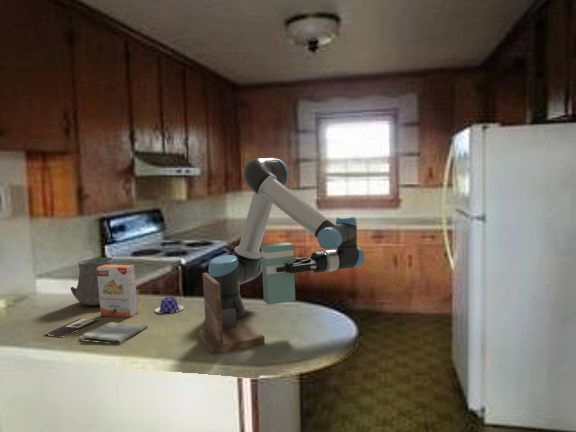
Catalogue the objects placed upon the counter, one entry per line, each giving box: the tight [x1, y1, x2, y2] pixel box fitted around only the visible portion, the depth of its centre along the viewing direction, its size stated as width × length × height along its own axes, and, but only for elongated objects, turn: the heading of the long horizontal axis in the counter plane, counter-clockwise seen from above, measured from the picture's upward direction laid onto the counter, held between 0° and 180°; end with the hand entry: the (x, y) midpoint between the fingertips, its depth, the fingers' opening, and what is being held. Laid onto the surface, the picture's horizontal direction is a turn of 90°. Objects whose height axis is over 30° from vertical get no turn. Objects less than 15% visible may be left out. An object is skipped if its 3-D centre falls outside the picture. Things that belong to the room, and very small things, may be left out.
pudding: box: [154, 296, 185, 314], centre depth 199 cm, size 12×12×5 cm
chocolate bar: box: [45, 318, 99, 336], centre depth 181 cm, size 9×1×18 cm
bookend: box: [221, 308, 238, 330], centre depth 165 cm, size 9×3×7 cm, turn 113°
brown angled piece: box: [198, 272, 266, 356], centre depth 160 cm, size 18×18×22 cm
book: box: [260, 241, 296, 306], centre depth 164 cm, size 5×10×20 cm, turn 113°
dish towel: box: [78, 321, 148, 345], centre depth 172 cm, size 19×18×3 cm
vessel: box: [70, 256, 114, 307], centre depth 213 cm, size 22×22×20 cm
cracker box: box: [97, 264, 139, 318], centre depth 194 cm, size 14×6×21 cm, turn 76°
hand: (263, 268), depth 162 cm, fingers closed on book, 5 cm apart
